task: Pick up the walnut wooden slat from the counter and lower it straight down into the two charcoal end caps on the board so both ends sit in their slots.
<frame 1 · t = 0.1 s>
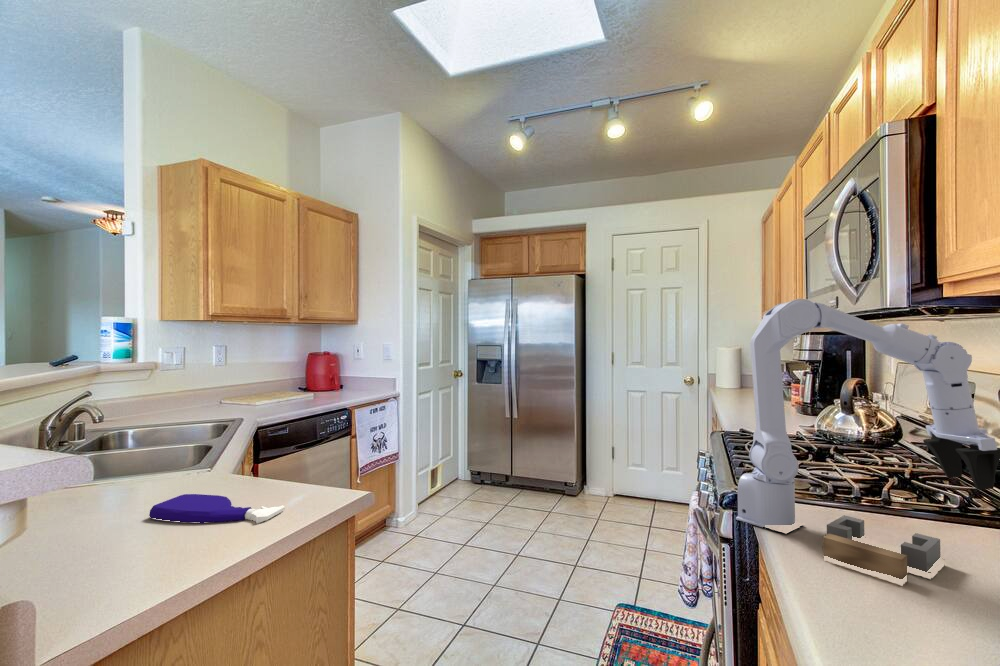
hand: (968, 482, 84), 11 cm above the table, tool pointing down, fingers open, 7 cm apart
base board: (881, 556, 77), on the table
slat: (863, 571, 73), on the table
end caps: (881, 540, 78), on the base board, point 2 cm above the table
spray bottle: (219, 518, 96), on the table
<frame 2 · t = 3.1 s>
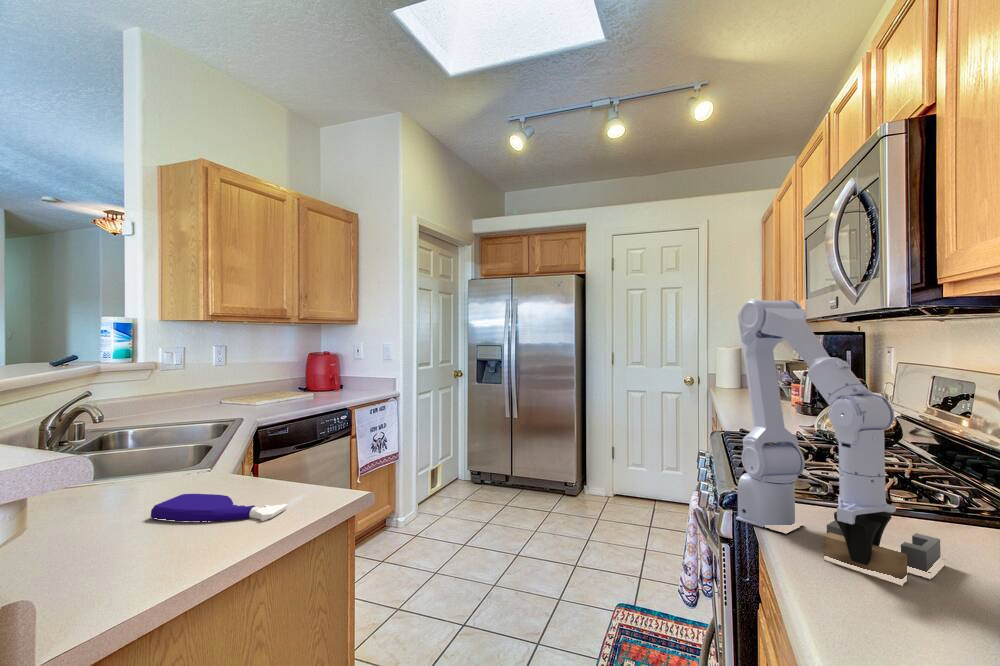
hand: (863, 559, 73), 2 cm above the table, tool pointing down, fingers closed on slat, 2 cm apart
slat: (863, 570, 73), on the table, touching gripper
when the fingers open (4 cm above the table, at t = 5.8 s): slat stays where it is, resting on base board.
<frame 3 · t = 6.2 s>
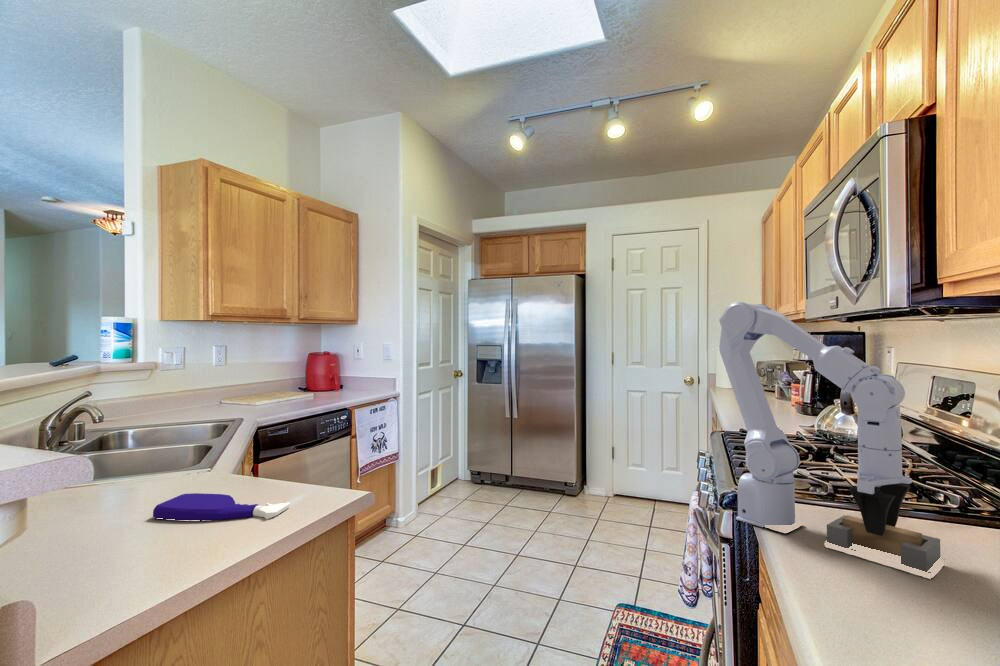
hand: (881, 529, 78), 4 cm above the table, tool pointing down, fingers open, 6 cm apart
slat: (880, 549, 78), point 1 cm above the table, touching base board
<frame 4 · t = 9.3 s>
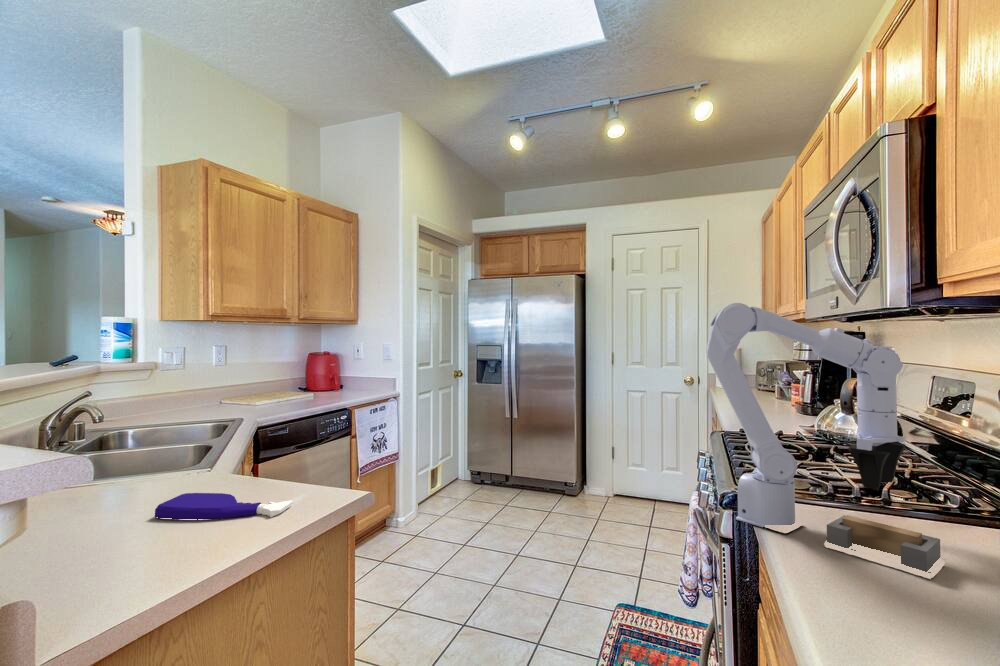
hand: (878, 484, 86), 9 cm above the table, tool pointing down, fingers open, 7 cm apart
at the end: slat 0.1 cm off-centre on the end caps, point 1.0 cm above the end caps's base; slat tilted 0°; the gripper is holding nothing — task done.
